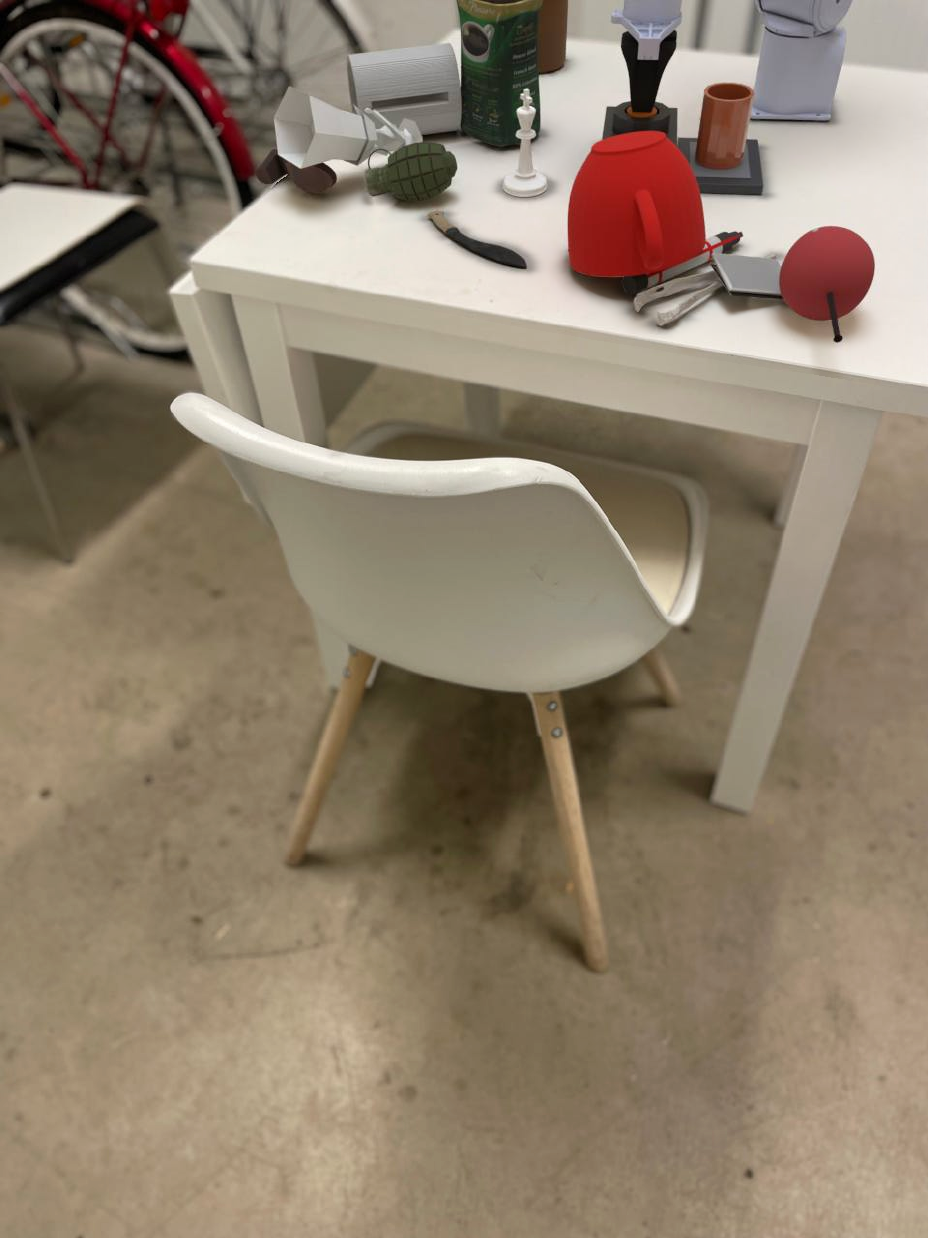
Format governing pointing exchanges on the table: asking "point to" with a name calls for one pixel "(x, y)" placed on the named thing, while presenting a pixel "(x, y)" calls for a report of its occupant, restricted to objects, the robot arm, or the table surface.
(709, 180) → the tray
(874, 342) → the table surface
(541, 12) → the mug
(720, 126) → the clay cup
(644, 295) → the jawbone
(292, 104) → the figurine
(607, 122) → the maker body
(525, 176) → the chess piece
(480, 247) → the machete
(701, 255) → the marker
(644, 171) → the ceramic cup
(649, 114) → the button
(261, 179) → the heeled mule
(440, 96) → the grey rounded slotted piece
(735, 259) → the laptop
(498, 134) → the coffee jar
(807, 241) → the lollipop
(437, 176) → the grenade
